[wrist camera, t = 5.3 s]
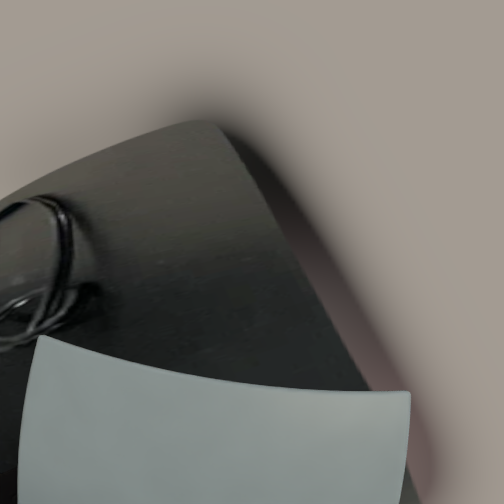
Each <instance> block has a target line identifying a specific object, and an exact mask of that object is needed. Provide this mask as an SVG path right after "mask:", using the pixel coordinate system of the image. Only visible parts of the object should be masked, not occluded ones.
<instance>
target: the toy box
mask: <svg viewBox="0 0 504 504" xmlns="http://www.w3.org/2000/svg"><path fill="white" fill-rule="evenodd" d="M410 406H411V394H410V392H408V391H328V390H309V389H295V388H283V387H272V386H263V385H254V384H246V383H238V382H231V381H224V380H218V379H212V378H206V377H200V376H194V375H189V374H184V373H179V372H174V371H169V370H164V369H160V368H155V367H151V366H146V365H142V364H138V363H134V362H130V361H126V360H122V359H118V358H115V357H111V356H108V355H104V354H101V353H97V352H94V351H90V350H87V349H84V348H81V347H78V346H74V345H71V344H68V343H65V342H62V341H59V340H57V339H54V338H51V337H48V336H45V335H40V336H39V338H38V341H37V344H36V348H35V352H34V357H33V361H32V365H31V370H30V375H29V379H28V385H27V390H26V396H25V402H24V408H23V415H22V423H21V431H20V441H19V454H18V476H17V499H18V504H399V500H400V495H401V489H402V483H403V477H404V470H405V463H406V455H407V446H408V435H409V423H410Z"/></svg>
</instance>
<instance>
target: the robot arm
mask: <svg viewBox="0 0 504 504" xmlns="http://www.w3.org/2000/svg"><path fill="white" fill-rule="evenodd" d="M17 476H18V467H16V468H14V469H12V470H9V471H7V472H4V473H2V474H0V504H18V499H17Z"/></svg>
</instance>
